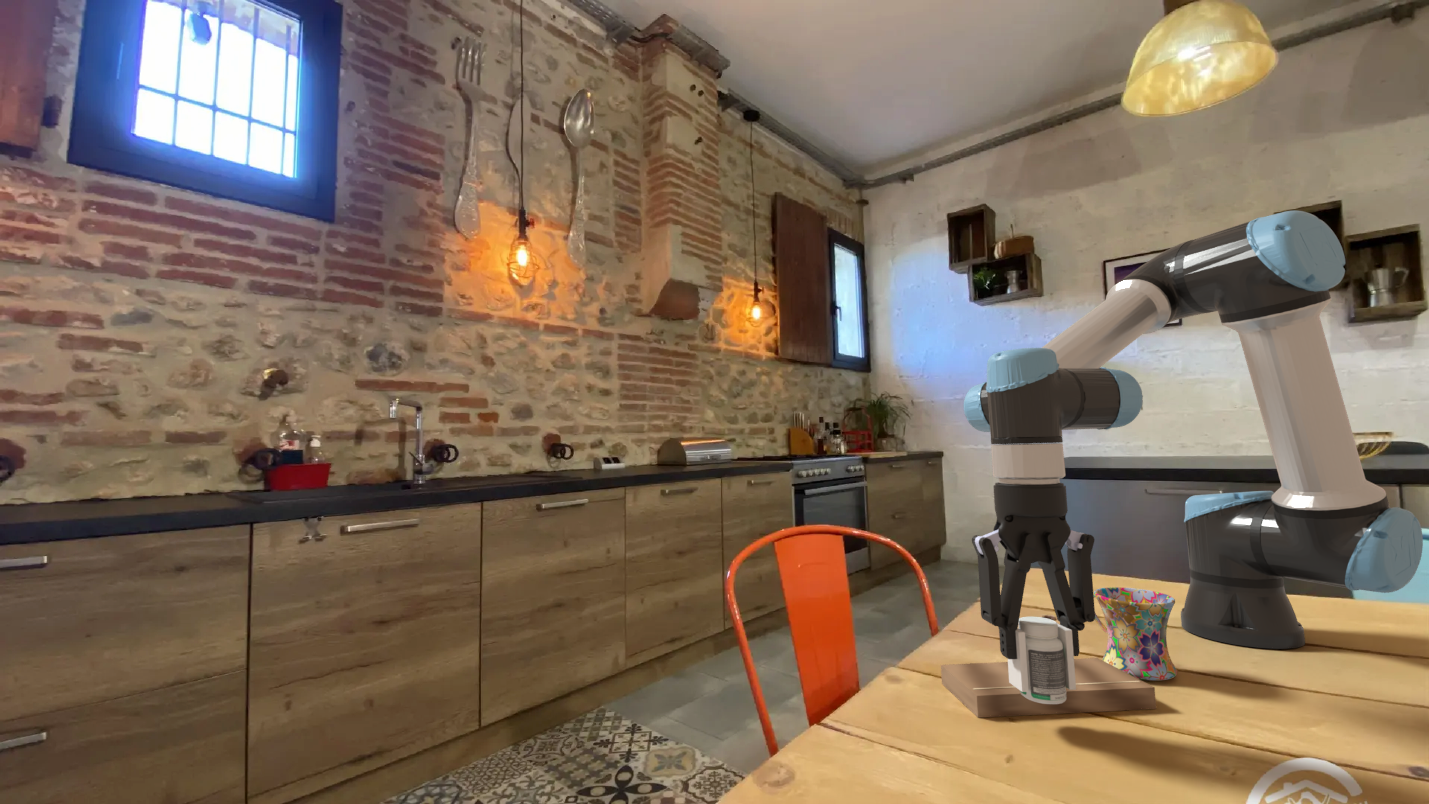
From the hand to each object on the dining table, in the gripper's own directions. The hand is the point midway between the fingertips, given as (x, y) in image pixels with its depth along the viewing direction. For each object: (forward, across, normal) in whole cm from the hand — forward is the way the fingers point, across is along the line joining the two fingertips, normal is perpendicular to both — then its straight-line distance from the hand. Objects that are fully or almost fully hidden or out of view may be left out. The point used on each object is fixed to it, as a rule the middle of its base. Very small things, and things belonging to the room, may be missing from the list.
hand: (1042, 685), depth 67 cm
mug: (+5, -22, -15) cm, 27 cm away
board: (+5, -5, -8) cm, 11 cm away
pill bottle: (+1, 0, 0) cm, 1 cm away
